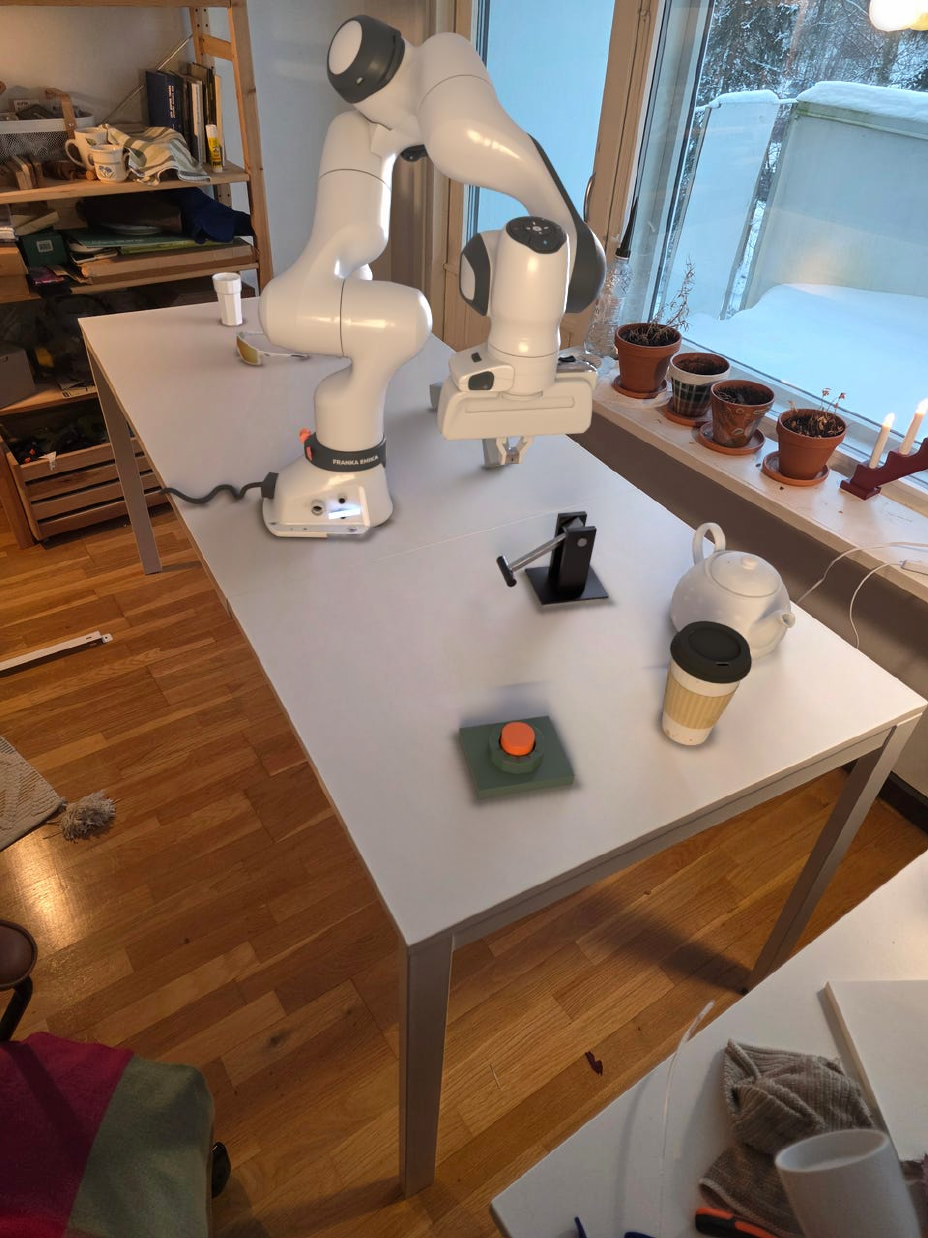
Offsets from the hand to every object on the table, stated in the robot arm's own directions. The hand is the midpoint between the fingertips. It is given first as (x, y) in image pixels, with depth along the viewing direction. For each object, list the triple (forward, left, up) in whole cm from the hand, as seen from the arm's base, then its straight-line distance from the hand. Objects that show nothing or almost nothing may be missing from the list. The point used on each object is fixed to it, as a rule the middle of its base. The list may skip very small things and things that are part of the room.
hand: (509, 462), depth 109 cm
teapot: (+33, -12, -24) cm, 43 cm away
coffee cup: (+18, -30, -24) cm, 43 cm away
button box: (-6, -31, -24) cm, 40 cm away
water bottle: (-7, +98, -24) cm, 101 cm away
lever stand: (+12, +1, -24) cm, 27 cm away
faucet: (+9, +52, -24) cm, 58 cm away
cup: (-36, +119, -24) cm, 127 cm away
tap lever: (+8, +1, -17) cm, 19 cm away
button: (-6, -31, -21) cm, 38 cm away
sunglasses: (-28, +98, -25) cm, 105 cm away
